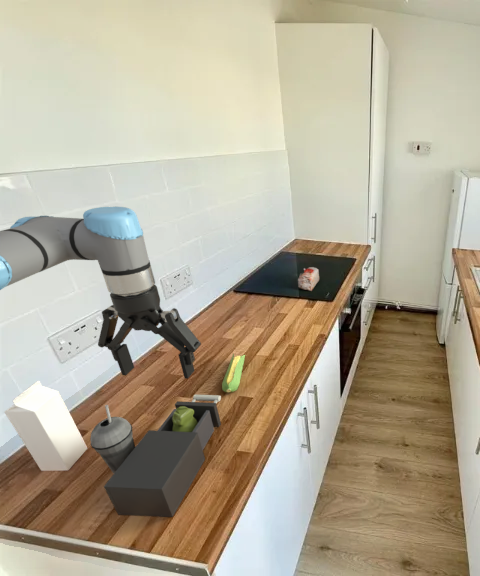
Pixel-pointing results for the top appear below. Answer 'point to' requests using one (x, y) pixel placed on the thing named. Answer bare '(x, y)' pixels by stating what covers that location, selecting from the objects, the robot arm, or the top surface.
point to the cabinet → (156, 474)
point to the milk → (46, 428)
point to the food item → (308, 279)
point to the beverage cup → (113, 440)
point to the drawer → (199, 416)
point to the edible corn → (233, 374)
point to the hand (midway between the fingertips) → (159, 373)
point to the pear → (184, 420)
